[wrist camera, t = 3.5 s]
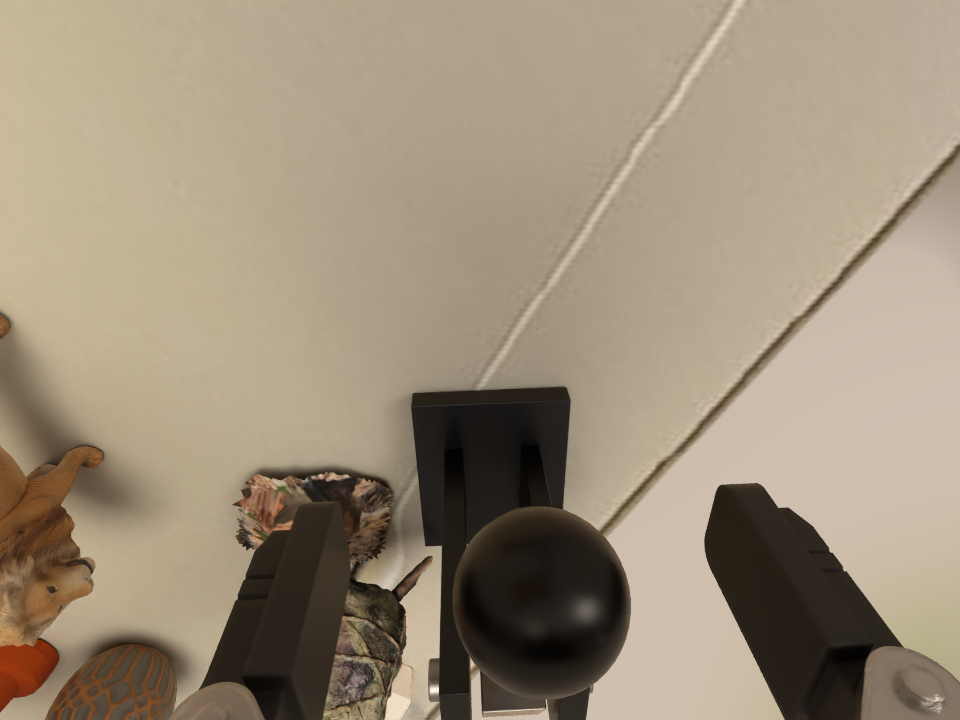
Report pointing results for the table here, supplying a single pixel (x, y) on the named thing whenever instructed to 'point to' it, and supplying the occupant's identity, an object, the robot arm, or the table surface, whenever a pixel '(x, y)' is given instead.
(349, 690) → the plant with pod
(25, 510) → the lion figurine
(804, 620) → the robot arm
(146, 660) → the vase
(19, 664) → the toy drill
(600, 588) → the lever
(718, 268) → the table surface
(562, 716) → the bracket
